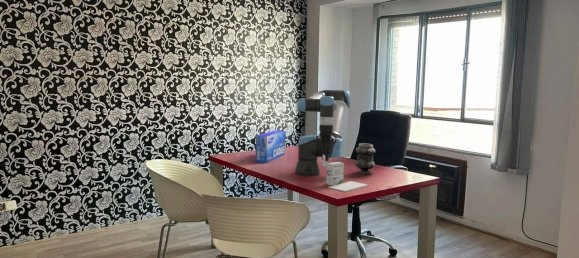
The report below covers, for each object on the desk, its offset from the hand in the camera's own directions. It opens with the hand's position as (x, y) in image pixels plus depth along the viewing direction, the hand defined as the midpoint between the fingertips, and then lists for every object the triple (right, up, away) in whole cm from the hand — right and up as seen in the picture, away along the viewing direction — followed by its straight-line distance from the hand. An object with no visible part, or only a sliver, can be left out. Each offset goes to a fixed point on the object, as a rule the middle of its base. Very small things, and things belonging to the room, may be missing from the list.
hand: (324, 166), depth 245 cm
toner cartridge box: (-33, 0, +69) cm, 76 cm away
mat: (+12, -10, -10) cm, 19 cm away
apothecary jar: (+26, -7, +25) cm, 37 cm away
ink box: (+5, -10, -4) cm, 12 cm away
